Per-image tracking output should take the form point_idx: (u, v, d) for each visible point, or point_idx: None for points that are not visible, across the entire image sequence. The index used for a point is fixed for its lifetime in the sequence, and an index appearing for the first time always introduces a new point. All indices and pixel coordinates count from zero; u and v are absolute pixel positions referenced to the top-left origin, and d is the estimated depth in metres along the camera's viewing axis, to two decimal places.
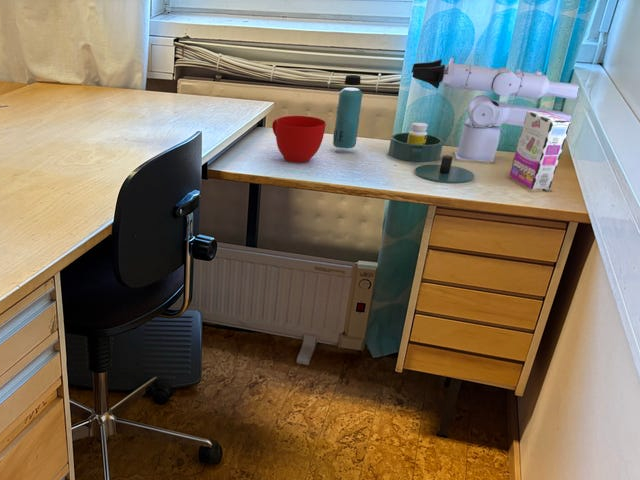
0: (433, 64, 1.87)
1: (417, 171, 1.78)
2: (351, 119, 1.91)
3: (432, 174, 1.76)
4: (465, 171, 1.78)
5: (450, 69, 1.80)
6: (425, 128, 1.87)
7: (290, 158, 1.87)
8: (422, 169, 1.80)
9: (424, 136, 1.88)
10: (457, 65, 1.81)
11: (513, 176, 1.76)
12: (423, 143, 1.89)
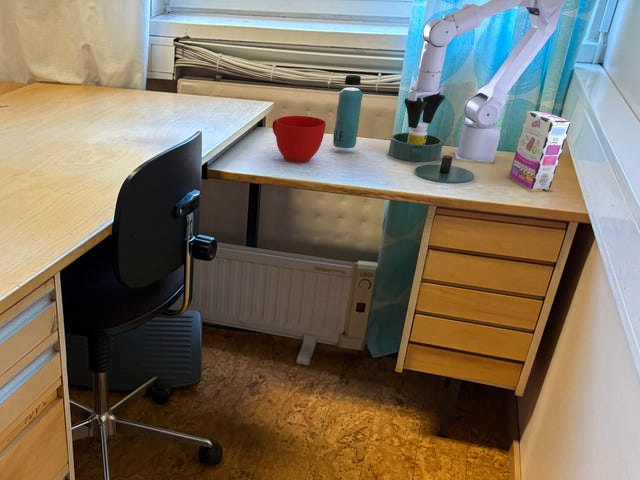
0: None
1: (417, 171, 1.78)
2: (351, 119, 1.91)
3: (432, 174, 1.76)
4: (465, 171, 1.78)
5: (412, 91, 1.82)
6: (425, 128, 1.87)
7: (290, 158, 1.87)
8: (422, 169, 1.80)
9: (424, 136, 1.88)
10: None
11: (513, 176, 1.76)
12: (423, 143, 1.89)
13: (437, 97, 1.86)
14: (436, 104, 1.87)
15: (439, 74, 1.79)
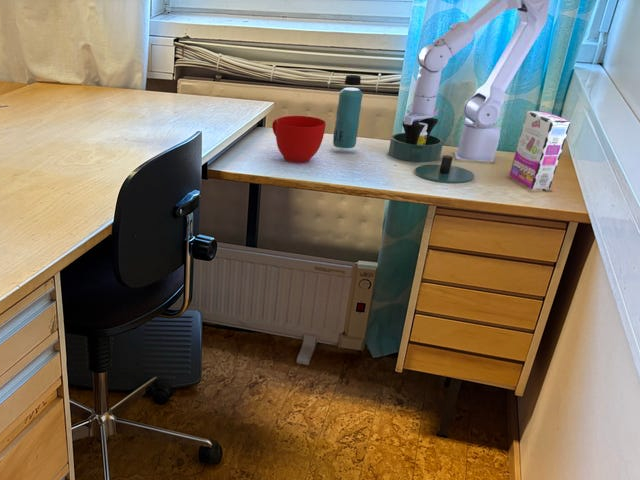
0: None
1: (417, 171, 1.78)
2: (351, 119, 1.91)
3: (432, 174, 1.76)
4: (465, 171, 1.78)
5: None
6: (425, 128, 1.87)
7: (290, 158, 1.87)
8: (422, 169, 1.80)
9: (424, 136, 1.88)
10: (412, 106, 1.87)
11: (513, 176, 1.76)
12: (423, 143, 1.89)
13: (430, 121, 1.88)
14: (429, 128, 1.89)
15: (434, 98, 1.83)
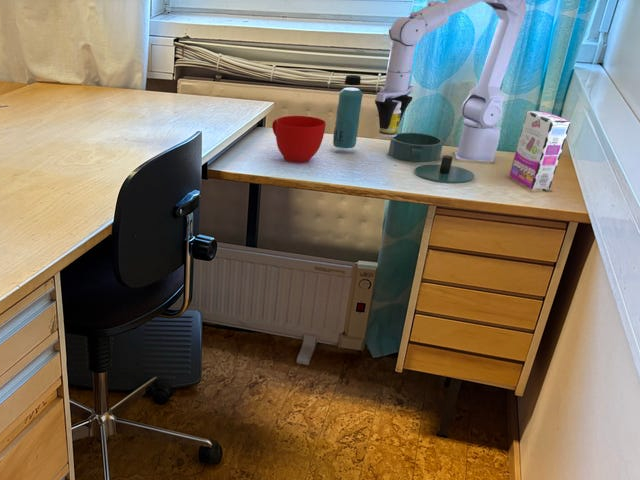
0: None
1: (417, 171, 1.78)
2: (351, 119, 1.91)
3: (432, 174, 1.76)
4: (465, 171, 1.78)
5: None
6: (399, 106, 1.79)
7: (290, 158, 1.87)
8: (422, 169, 1.80)
9: (398, 114, 1.80)
10: None
11: (513, 176, 1.76)
12: (397, 122, 1.81)
13: (404, 98, 1.80)
14: (403, 106, 1.81)
15: (408, 74, 1.74)
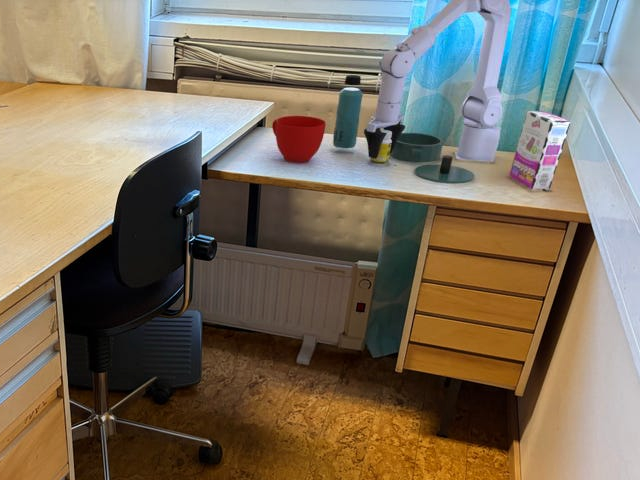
0: None
1: (417, 171, 1.78)
2: (351, 119, 1.91)
3: (432, 174, 1.76)
4: (465, 171, 1.78)
5: None
6: (389, 136, 1.82)
7: (290, 158, 1.87)
8: (422, 169, 1.80)
9: (388, 143, 1.83)
10: None
11: (513, 176, 1.76)
12: (387, 151, 1.84)
13: (397, 127, 1.84)
14: (396, 134, 1.85)
15: (398, 105, 1.77)
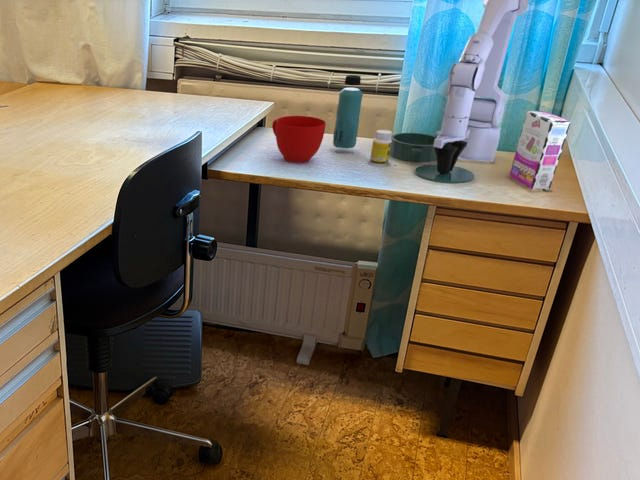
0: None
1: (417, 171, 1.78)
2: (351, 119, 1.91)
3: (432, 174, 1.76)
4: (465, 171, 1.78)
5: None
6: (389, 136, 1.82)
7: (290, 158, 1.87)
8: (422, 169, 1.80)
9: (388, 143, 1.83)
10: None
11: (513, 176, 1.76)
12: (387, 151, 1.84)
13: (459, 144, 1.74)
14: (458, 151, 1.74)
15: (466, 119, 1.69)
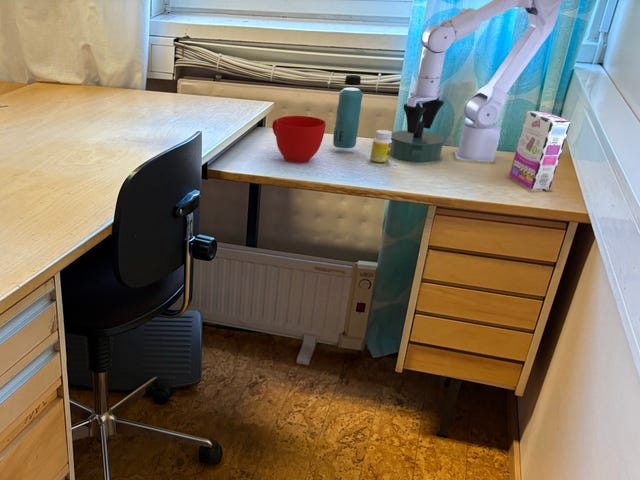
0: (424, 108, 1.89)
1: (392, 136, 1.91)
2: (351, 119, 1.91)
3: (406, 138, 1.89)
4: (437, 136, 1.91)
5: None
6: (389, 136, 1.82)
7: (290, 158, 1.87)
8: (396, 134, 1.92)
9: (388, 143, 1.83)
10: (415, 88, 1.84)
11: (513, 176, 1.76)
12: (387, 151, 1.84)
13: (436, 102, 1.87)
14: (435, 109, 1.87)
15: (438, 80, 1.80)
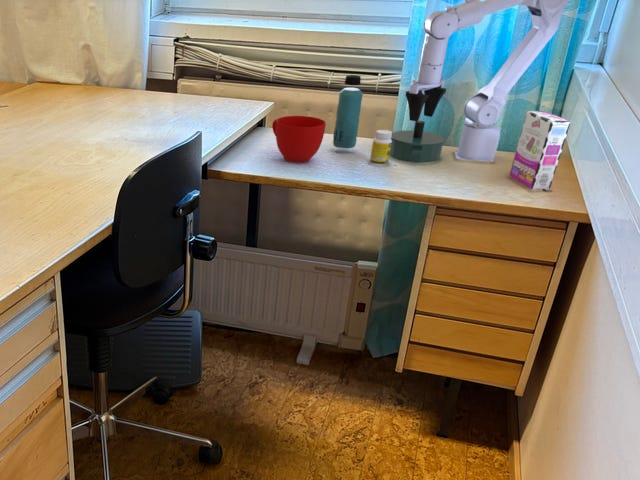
0: None
1: (392, 136, 1.91)
2: (351, 119, 1.91)
3: (406, 138, 1.89)
4: (437, 136, 1.91)
5: None
6: (389, 136, 1.82)
7: (290, 158, 1.87)
8: (396, 134, 1.92)
9: (388, 143, 1.83)
10: None
11: (513, 176, 1.76)
12: (387, 151, 1.84)
13: (438, 90, 1.85)
14: (437, 97, 1.86)
15: (440, 67, 1.78)
